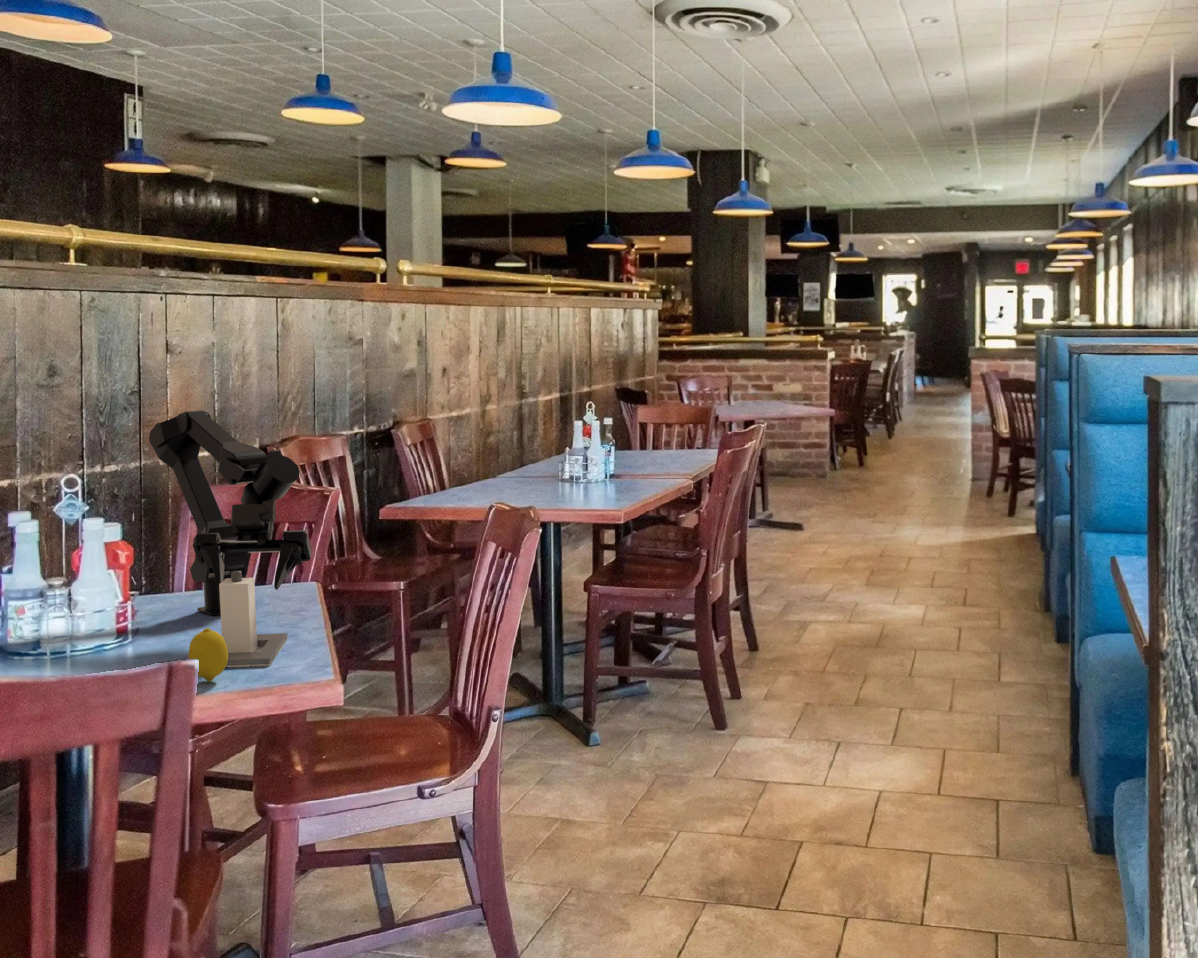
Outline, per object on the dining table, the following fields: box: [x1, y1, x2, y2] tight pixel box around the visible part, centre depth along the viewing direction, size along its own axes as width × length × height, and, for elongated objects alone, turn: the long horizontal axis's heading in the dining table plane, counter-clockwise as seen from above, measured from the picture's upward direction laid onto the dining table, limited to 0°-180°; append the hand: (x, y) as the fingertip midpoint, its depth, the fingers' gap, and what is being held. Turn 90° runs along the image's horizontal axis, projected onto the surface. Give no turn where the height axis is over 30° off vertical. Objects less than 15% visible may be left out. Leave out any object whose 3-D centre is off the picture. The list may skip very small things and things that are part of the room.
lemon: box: [187, 627, 228, 683], centre depth 181 cm, size 6×6×8 cm
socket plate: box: [220, 632, 288, 668], centre depth 197 cm, size 16×12×1 cm
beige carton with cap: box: [219, 571, 258, 653], centre depth 196 cm, size 5×4×13 cm
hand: (247, 589), depth 204 cm, fingers open, 9 cm apart
